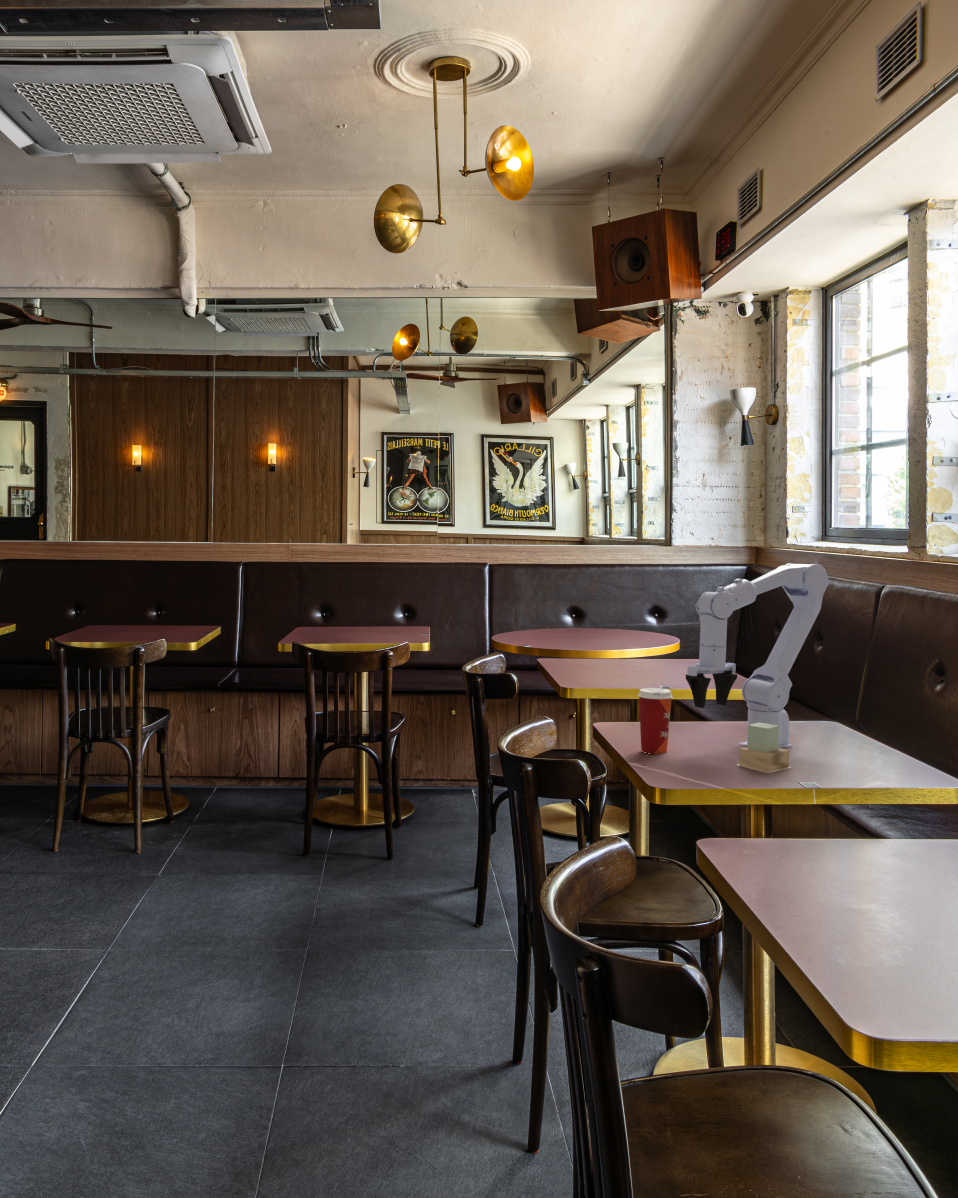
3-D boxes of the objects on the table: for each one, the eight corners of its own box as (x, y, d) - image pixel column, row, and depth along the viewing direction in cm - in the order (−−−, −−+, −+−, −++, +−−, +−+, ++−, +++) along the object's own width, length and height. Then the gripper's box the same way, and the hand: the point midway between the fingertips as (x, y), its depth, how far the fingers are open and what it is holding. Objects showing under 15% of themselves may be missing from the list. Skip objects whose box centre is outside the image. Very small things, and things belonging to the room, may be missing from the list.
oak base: (759, 760, 186) (760, 744, 186) (788, 767, 181) (789, 750, 181) (739, 765, 182) (739, 748, 182) (768, 772, 177) (768, 755, 176)
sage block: (758, 745, 185) (759, 722, 185) (778, 749, 181) (779, 725, 181) (747, 748, 182) (748, 725, 181) (767, 752, 178) (768, 728, 178)
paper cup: (674, 756, 191) (676, 693, 190) (639, 756, 191) (640, 692, 190) (667, 748, 199) (669, 687, 198) (634, 747, 199) (635, 687, 198)
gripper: (718, 642, 202) (716, 700, 203) (677, 645, 194) (675, 705, 194) (744, 645, 197) (741, 705, 197) (703, 648, 188) (700, 710, 189)
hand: (710, 705), depth 195 cm, fingers open, 7 cm apart
